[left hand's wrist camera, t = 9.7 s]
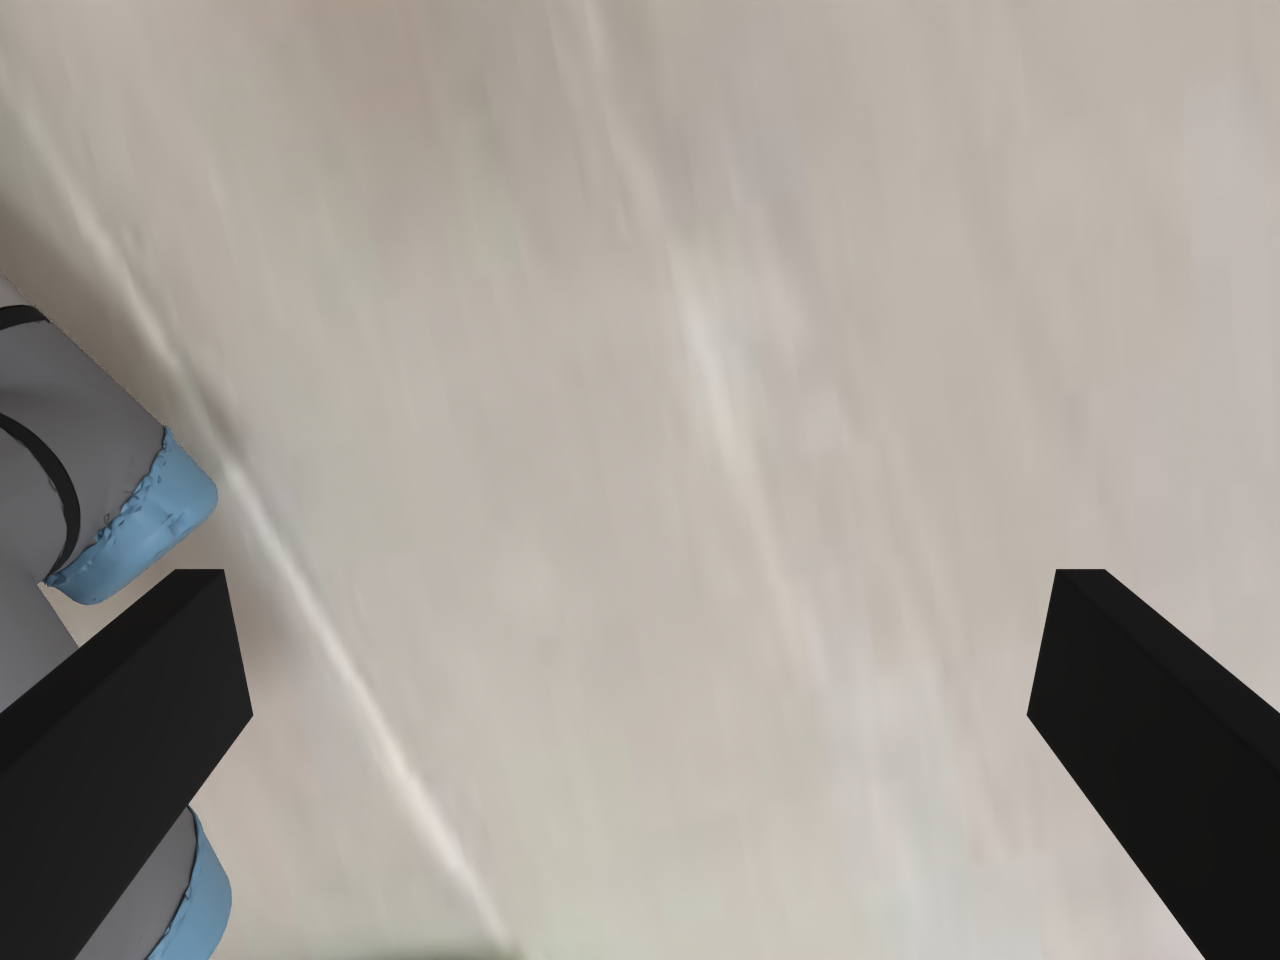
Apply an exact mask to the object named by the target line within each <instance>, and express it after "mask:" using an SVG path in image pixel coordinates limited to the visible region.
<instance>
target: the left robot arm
mask: <svg viewBox="0 0 1280 960" xmlns="http://www.w3.org/2000/svg"><path fill="white" fill-rule="evenodd" d="M252 716H253V711H252V706H251V702H250V697H249V692H248V687H247V682H246V677H245V672H244V667H243V662H242V657H241V652H240V647H239V642H238V637H237V632H236V627H235V622H234V617H233V612H232V607H231V602H230V597H229V593H228V588H227V583H226V578H225V573H224V569H175V570H174V571H172V572H171V573H170V574H169V575H168V576H166V577H165V578H164V579H163V580H162V581H160V582H159V583H158V584H157V585H155V586H154V587H153V588H152V589H151V590H149V591H148V592H147V593H146V594H145V595H143V596H142V597H141V598H140V599H138V600H137V601H136V602H135V603H134V604H132V605H131V606H130V607H129V608H127V609H126V610H125V611H124V612H123V613H121V614H120V615H119V616H118V617H117V618H115V619H114V620H113V621H112V622H110V623H109V624H108V625H107V626H106V627H104V628H103V629H102V630H101V631H100V632H98V633H97V634H96V635H95V636H93V637H92V638H91V639H90V640H89V641H87V642H86V643H85V644H84V645H83V646H81V647H80V648H79V649H78V650H76V651H75V652H74V653H73V654H72V655H70V656H69V657H68V658H67V659H66V660H64V661H63V662H62V663H61V664H59V665H58V666H57V667H56V668H55V669H53V670H52V671H51V672H50V673H49V674H47V675H46V676H45V677H44V678H42V679H41V680H40V681H39V682H38V683H36V684H35V685H34V686H33V687H31V688H30V689H29V690H28V691H27V692H25V693H24V694H23V695H22V696H21V697H19V698H18V699H17V700H16V701H14V702H13V703H12V704H11V705H10V706H8V707H7V708H6V709H5V710H4V711H2V712H1V713H0V960H75V958H76V957H77V956H78V954H79V953H80V951H81V950H82V949H83V947H84V946H85V945H86V943H87V942H88V941H89V939H90V938H91V936H92V935H93V934H94V932H95V931H96V930H97V928H98V927H99V926H100V924H101V923H102V921H103V920H104V919H105V917H106V916H107V915H108V913H109V912H110V910H111V909H112V908H113V906H114V905H115V904H116V902H117V901H118V900H119V898H120V897H121V895H122V894H123V893H124V891H125V890H126V889H127V887H128V886H129V884H130V883H131V882H132V880H133V879H134V878H135V876H136V875H137V874H138V872H139V871H140V869H141V868H142V867H143V865H144V864H145V863H146V861H147V860H148V859H149V857H150V856H151V854H152V853H153V852H154V850H155V849H156V848H157V846H158V845H159V843H160V842H161V841H162V839H163V838H164V837H165V835H166V834H167V833H168V831H169V830H170V828H171V827H172V826H173V824H174V823H175V822H176V820H177V819H178V818H179V816H180V815H181V813H182V812H183V811H184V809H185V808H186V807H187V805H188V804H189V802H190V801H191V800H192V798H193V797H194V796H195V794H196V793H197V792H198V790H199V789H200V787H201V786H202V785H203V783H204V782H205V781H206V779H207V778H208V777H209V775H210V774H211V772H212V771H213V770H214V768H215V767H216V766H217V764H218V763H219V761H220V760H221V759H222V757H223V756H224V755H225V753H226V752H227V751H228V749H229V748H230V746H231V745H232V744H233V742H234V741H235V740H236V738H237V737H238V736H239V734H240V733H241V731H242V730H243V729H244V727H245V726H246V725H247V723H248V722H249V720H250V719H251V718H252ZM1027 716H1028V718H1029V719H1030V720H1031V722H1032V723H1033V725H1034V726H1035V727H1036V729H1037V730H1038V731H1039V733H1040V734H1041V736H1042V737H1043V738H1044V740H1045V741H1046V742H1047V744H1048V745H1049V746H1050V748H1051V749H1052V751H1053V752H1054V753H1055V755H1056V756H1057V757H1058V759H1059V760H1060V761H1061V763H1062V764H1063V766H1064V767H1065V768H1066V770H1067V771H1068V772H1069V774H1070V775H1071V777H1072V778H1073V779H1074V781H1075V782H1076V783H1077V785H1078V786H1079V787H1080V789H1081V790H1082V792H1083V793H1084V794H1085V796H1086V797H1087V798H1088V800H1089V801H1090V802H1091V804H1092V805H1093V807H1094V808H1095V809H1096V811H1097V812H1098V813H1099V815H1100V816H1101V818H1102V819H1103V820H1104V822H1105V823H1106V824H1107V826H1108V827H1109V828H1110V830H1111V831H1112V833H1113V834H1114V835H1115V837H1116V838H1117V839H1118V841H1119V842H1120V843H1121V845H1122V846H1123V848H1124V849H1125V850H1126V852H1127V853H1128V854H1129V856H1130V857H1131V859H1132V860H1133V861H1134V863H1135V864H1136V865H1137V867H1138V868H1139V869H1140V871H1141V872H1142V874H1143V875H1144V876H1145V878H1146V879H1147V880H1148V882H1149V883H1150V885H1151V886H1152V887H1153V889H1154V890H1155V891H1156V893H1157V894H1158V895H1159V897H1160V898H1161V900H1162V901H1163V902H1164V904H1165V905H1166V906H1167V908H1168V909H1169V910H1170V912H1171V913H1172V915H1173V916H1174V917H1175V919H1176V920H1177V921H1178V923H1179V924H1180V926H1181V927H1182V928H1183V930H1184V931H1185V932H1186V934H1187V935H1188V936H1189V938H1190V939H1191V941H1192V942H1193V943H1194V945H1195V946H1196V947H1197V949H1198V950H1199V951H1200V953H1201V954H1202V956H1203V957H1204V958H1205V960H1280V713H1279V712H1278V711H1276V710H1275V709H1274V708H1273V707H1272V706H1270V705H1269V704H1268V703H1267V702H1266V701H1264V700H1263V699H1262V698H1261V697H1259V696H1258V695H1257V694H1256V693H1255V692H1253V691H1252V690H1251V689H1250V688H1249V687H1247V686H1246V685H1245V684H1244V683H1242V682H1241V681H1240V680H1239V679H1238V678H1236V677H1235V676H1234V675H1233V674H1231V673H1230V672H1229V671H1228V670H1227V669H1225V668H1224V667H1223V666H1222V665H1221V664H1219V663H1218V662H1217V661H1216V660H1214V659H1213V658H1212V657H1211V656H1210V655H1208V654H1207V653H1206V652H1205V651H1204V650H1202V649H1201V648H1200V647H1199V646H1197V645H1196V644H1195V643H1194V642H1193V641H1191V640H1190V639H1189V638H1188V637H1187V636H1185V635H1184V634H1183V633H1182V632H1180V631H1179V630H1178V629H1177V628H1176V627H1174V626H1173V625H1172V624H1171V623H1170V622H1168V621H1167V620H1166V619H1165V618H1163V617H1162V616H1161V615H1160V614H1159V613H1157V612H1156V611H1155V610H1154V609H1153V608H1151V607H1150V606H1149V605H1148V604H1146V603H1145V602H1144V601H1143V600H1142V599H1140V598H1139V597H1138V596H1137V595H1135V594H1134V593H1133V592H1132V591H1131V590H1129V589H1128V588H1127V587H1126V586H1125V585H1123V584H1122V583H1121V582H1120V581H1118V580H1117V579H1116V578H1115V577H1114V576H1112V575H1111V574H1110V573H1109V572H1108V571H1106V570H1105V569H1056V573H1055V578H1054V583H1053V588H1052V593H1051V597H1050V602H1049V607H1048V612H1047V617H1046V622H1045V627H1044V632H1043V637H1042V642H1041V647H1040V652H1039V657H1038V662H1037V667H1036V672H1035V677H1034V682H1033V687H1032V692H1031V697H1030V701H1029V706H1028V711H1027Z"/></svg>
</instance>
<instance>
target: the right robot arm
mask: <svg viewBox="0 0 1280 960" xmlns="http://www.w3.org/2000/svg"><path fill="white" fill-rule="evenodd" d="M170 431H171V430H170V429H169V428H167V427H166V426H164V425H161V424H160V423H159V422H158V421H157V420H156V419H155V418H154V417H153V416H152V415H151V414H150V413H149V412H147V411H146V410H145V409H144V408H143V407H142V406H141V405H140V404H139V403H138V402H137V401H136V400H135V399H134V398H133V397H131V396H130V395H129V394H128V393H127V392H126V391H125V390H124V389H123V388H122V387H121V386H120V385H119V384H118V383H117V382H116V381H114V380H113V379H112V378H111V377H110V376H109V375H108V374H107V373H106V372H105V371H104V370H103V369H102V368H101V367H100V366H98V365H97V364H96V363H95V362H94V361H93V360H92V359H91V358H90V357H89V356H88V355H87V354H86V353H85V352H84V351H83V350H81V349H80V348H79V347H78V346H77V345H76V344H75V343H74V342H73V341H72V340H71V339H70V338H69V337H68V336H67V335H65V334H64V333H63V332H62V331H61V330H60V329H59V328H58V327H57V326H56V325H55V324H54V323H51V322H50V321H49V320H48V319H47V318H46V317H45V316H44V315H43V314H42V313H41V312H40V311H39V309H38V308H36V307H35V306H34V305H33V304H32V303H31V302H30V301H29V300H28V299H27V298H26V297H25V296H24V295H23V294H22V293H21V292H20V291H19V290H18V289H17V288H16V287H15V286H14V285H13V284H12V283H10V282H9V281H8V280H7V279H6V278H5V277H4V276H3V275H2V274H1V273H0V713H1V712H2V711H4V710H5V709H6V708H7V707H8V706H10V705H11V704H12V703H13V702H14V701H16V700H17V699H18V698H19V697H21V696H22V695H23V694H24V693H25V692H27V691H28V690H29V689H30V688H31V687H33V686H34V685H35V684H36V683H38V682H39V681H40V680H41V679H42V678H44V677H45V676H46V675H47V674H49V673H50V672H51V671H52V670H53V669H55V668H56V667H57V666H58V665H59V664H61V663H62V662H63V661H64V660H66V659H67V658H68V657H69V656H70V655H72V654H73V653H74V652H75V651H76V650H78V649H79V647H78V646H77V644H76V642H75V641H74V639H73V638H72V636H71V635H70V633H69V632H68V630H67V629H66V627H65V626H64V624H63V623H62V621H61V620H60V618H59V617H58V615H57V614H56V612H55V611H54V609H53V608H52V606H51V605H50V603H49V602H48V600H47V599H46V597H45V596H44V595H43V593H42V592H41V590H40V589H39V588H38V586H37V584H38V583H39V582H41V581H43V582H44V584H45V585H46V583H47V586H48V587H55V588H57V589H58V590H60V591H62V592H63V593H64V594H66V595H67V596H68V597H69V598H71V599H72V600H73V601H76V602H78V603H80V604H84V605H92V604H98V603H100V602H103V601H104V600H106V599H107V598H109V597H110V596H112V595H114V594H115V593H116V592H118V591H119V590H121V589H122V588H123V587H125V586H126V585H127V584H129V583H130V582H131V581H132V580H134V579H135V578H136V577H137V576H139V575H140V574H141V573H143V572H144V571H145V570H146V569H148V568H149V567H150V566H151V565H152V564H154V563H155V562H156V561H157V560H159V559H160V558H161V557H162V556H164V555H165V554H166V553H167V552H168V551H170V550H171V549H172V548H173V547H174V546H176V545H177V544H178V543H179V542H180V541H182V540H183V539H184V538H185V537H186V536H187V535H189V534H190V533H191V532H192V531H193V530H194V529H195V528H197V527H198V526H199V525H200V524H201V523H202V522H203V521H204V520H205V519H207V518H208V517H209V515H210V514H211V513H212V512H213V510H214V509H215V507H216V504H217V501H218V492H217V488H216V486H215V484H214V482H213V481H212V479H211V478H210V477H209V476H208V475H207V474H206V473H205V472H204V471H203V470H202V469H201V468H200V467H199V466H198V465H197V464H196V463H195V462H194V460H193V459H192V458H191V457H190V456H189V455H188V454H187V453H186V452H185V451H184V450H183V449H182V448H181V447H180V446H179V445H178V444H177V443H176V441H175V440H174V435H173V434H172V433H171V432H170ZM231 906H232V893H231V886H230V882H229V879H228V876H227V875H226V873H225V871H224V869H223V867H222V865H221V864H220V862H219V860H218V858H217V856H216V854H215V852H214V850H213V848H212V847H211V845H210V843H209V841H208V839H207V837H206V835H205V833H204V831H203V828H202V825H201V822H200V820H199V818H198V816H197V815H196V813H195V812H194V811H193V810H192V808H191V807H190V806H189V804H188V805H187V807H186V808H185V809H184V811H183V812H182V813H181V815H180V816H179V818H178V819H177V820H176V822H175V823H174V824H173V826H172V827H171V828H170V830H169V831H168V833H167V834H166V835H165V837H164V838H163V839H162V841H161V842H160V843H159V845H158V846H157V848H156V849H155V850H154V852H153V853H152V854H151V856H150V857H149V859H148V860H147V861H146V863H145V864H144V865H143V867H142V868H141V869H140V871H139V872H138V874H137V875H136V876H135V878H134V879H133V880H132V882H131V883H130V884H129V886H128V887H127V889H126V890H125V891H124V893H123V894H122V895H121V897H120V898H119V900H118V901H117V902H116V904H115V905H114V906H113V908H112V909H111V910H110V912H109V913H108V915H107V916H106V917H105V919H104V920H103V921H102V923H101V924H100V926H99V927H98V928H97V930H96V931H95V932H94V934H93V935H92V936H91V938H90V939H89V941H88V942H87V943H86V945H85V946H84V947H83V949H82V950H81V951H80V953H79V954H78V956H77V957H76V958H75V960H208V959H209V957H210V956H211V955H212V953H213V952H214V950H215V948H216V947H217V945H218V943H219V941H220V940H221V938H222V935H223V933H224V931H225V928H226V926H227V922H228V919H229V915H230V911H231Z"/></svg>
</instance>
